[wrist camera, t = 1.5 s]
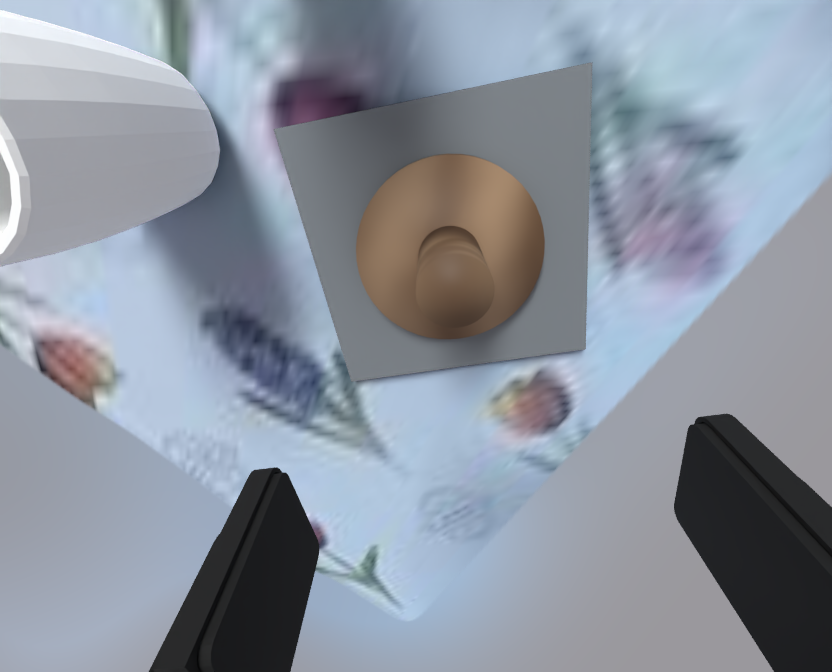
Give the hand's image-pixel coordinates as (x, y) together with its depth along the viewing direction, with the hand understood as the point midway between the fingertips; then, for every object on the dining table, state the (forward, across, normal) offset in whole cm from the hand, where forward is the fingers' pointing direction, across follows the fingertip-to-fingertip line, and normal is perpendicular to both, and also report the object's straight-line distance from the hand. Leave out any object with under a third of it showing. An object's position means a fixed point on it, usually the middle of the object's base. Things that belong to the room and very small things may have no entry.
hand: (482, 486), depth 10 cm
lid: (+19, 0, 0) cm, 19 cm away
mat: (+20, 0, 0) cm, 20 cm away
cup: (+20, +16, -10) cm, 28 cm away
